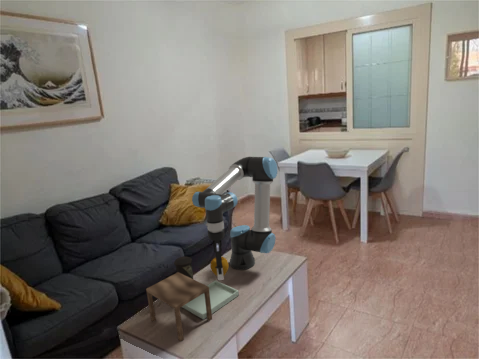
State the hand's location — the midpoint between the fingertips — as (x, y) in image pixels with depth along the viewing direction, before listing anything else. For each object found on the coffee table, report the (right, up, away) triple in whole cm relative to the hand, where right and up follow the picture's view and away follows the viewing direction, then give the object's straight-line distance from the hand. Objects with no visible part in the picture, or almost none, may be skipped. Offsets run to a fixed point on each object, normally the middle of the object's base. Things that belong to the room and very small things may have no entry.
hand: (220, 274), depth 157 cm
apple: (0, -1, 0) cm, 0 cm away
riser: (-18, -20, -4) cm, 27 cm away
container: (-18, -15, +17) cm, 29 cm away
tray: (-6, -16, +9) cm, 19 cm away
